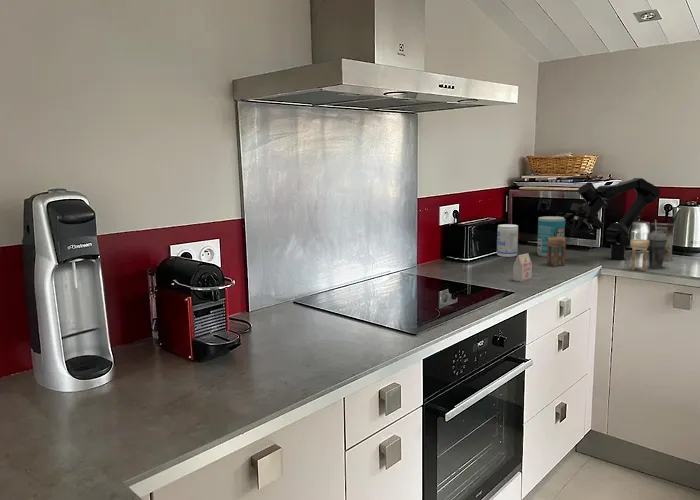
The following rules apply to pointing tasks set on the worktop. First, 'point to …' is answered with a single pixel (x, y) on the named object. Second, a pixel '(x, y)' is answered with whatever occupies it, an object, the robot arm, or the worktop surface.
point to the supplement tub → (507, 240)
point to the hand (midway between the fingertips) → (570, 235)
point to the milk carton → (522, 268)
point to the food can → (549, 233)
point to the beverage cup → (656, 248)
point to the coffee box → (668, 232)
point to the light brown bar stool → (639, 245)
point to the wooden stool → (556, 250)
